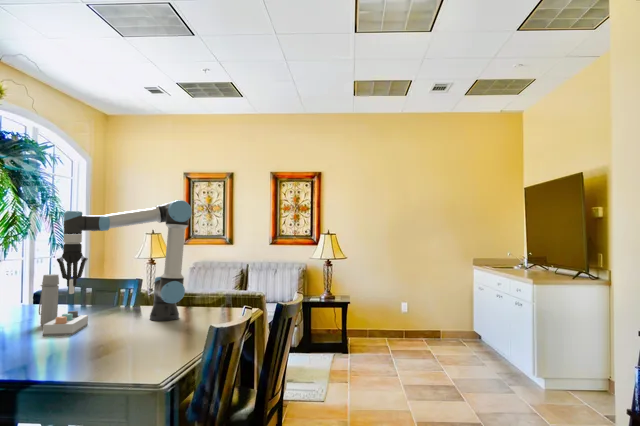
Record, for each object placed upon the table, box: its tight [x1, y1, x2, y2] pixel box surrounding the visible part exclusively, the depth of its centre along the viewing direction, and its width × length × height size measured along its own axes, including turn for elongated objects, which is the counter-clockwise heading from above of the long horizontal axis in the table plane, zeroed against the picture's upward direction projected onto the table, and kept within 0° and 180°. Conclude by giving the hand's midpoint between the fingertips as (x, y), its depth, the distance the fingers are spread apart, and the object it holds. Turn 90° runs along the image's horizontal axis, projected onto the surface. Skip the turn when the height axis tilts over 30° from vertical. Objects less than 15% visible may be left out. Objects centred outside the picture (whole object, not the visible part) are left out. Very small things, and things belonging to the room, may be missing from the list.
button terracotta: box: [55, 315, 67, 324], centre depth 197 cm, size 4×4×5 cm
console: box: [42, 314, 89, 337], centre depth 204 cm, size 12×22×5 cm, turn 12°
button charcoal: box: [67, 310, 79, 318], centre depth 212 cm, size 4×4×5 cm
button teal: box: [61, 313, 73, 321], centre depth 204 cm, size 4×4×5 cm
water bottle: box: [38, 273, 60, 327], centre depth 216 cm, size 9×8×25 cm
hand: (71, 293), depth 202 cm, fingers closed
